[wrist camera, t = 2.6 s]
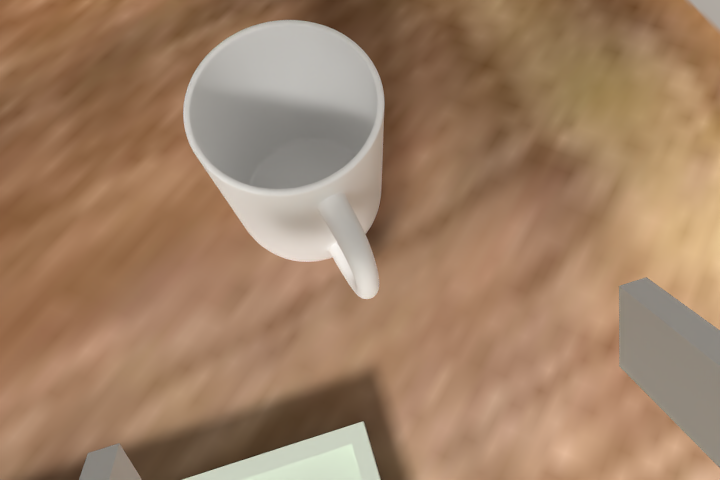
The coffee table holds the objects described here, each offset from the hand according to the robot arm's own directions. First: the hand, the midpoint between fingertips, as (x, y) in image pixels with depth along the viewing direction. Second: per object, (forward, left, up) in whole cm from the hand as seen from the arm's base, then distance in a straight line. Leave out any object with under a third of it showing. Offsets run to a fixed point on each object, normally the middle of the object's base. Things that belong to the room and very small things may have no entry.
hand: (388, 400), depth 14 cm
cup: (-11, 0, -15) cm, 18 cm away
